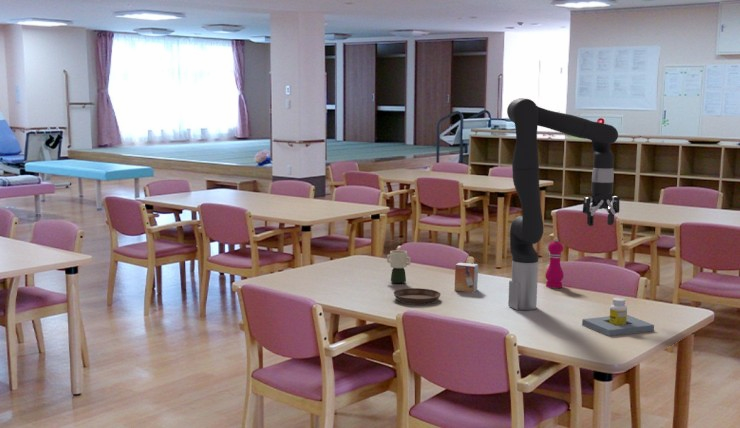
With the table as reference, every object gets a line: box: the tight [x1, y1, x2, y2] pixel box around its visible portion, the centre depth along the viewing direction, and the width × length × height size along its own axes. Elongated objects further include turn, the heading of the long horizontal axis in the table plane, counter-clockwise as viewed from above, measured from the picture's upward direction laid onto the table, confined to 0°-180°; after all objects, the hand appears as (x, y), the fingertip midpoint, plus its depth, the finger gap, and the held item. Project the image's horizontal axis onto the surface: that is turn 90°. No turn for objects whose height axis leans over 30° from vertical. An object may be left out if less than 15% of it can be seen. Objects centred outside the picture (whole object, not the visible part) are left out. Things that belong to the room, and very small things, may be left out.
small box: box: [454, 262, 479, 293], centre depth 323 cm, size 8×6×10 cm
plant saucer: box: [393, 287, 442, 306], centre depth 307 cm, size 18×18×3 cm
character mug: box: [386, 249, 412, 284], centre depth 335 cm, size 11×7×13 cm, turn 59°
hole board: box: [581, 314, 655, 337], centre depth 272 cm, size 18×14×2 cm
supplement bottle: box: [609, 297, 628, 326], centre depth 271 cm, size 5×5×10 cm
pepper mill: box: [544, 237, 564, 289], centre depth 330 cm, size 7×7×20 cm
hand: (600, 225), depth 296 cm, fingers open, 8 cm apart
